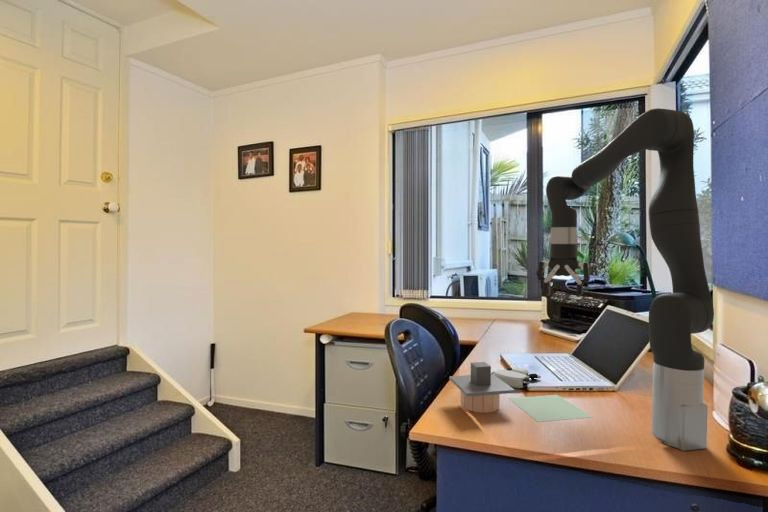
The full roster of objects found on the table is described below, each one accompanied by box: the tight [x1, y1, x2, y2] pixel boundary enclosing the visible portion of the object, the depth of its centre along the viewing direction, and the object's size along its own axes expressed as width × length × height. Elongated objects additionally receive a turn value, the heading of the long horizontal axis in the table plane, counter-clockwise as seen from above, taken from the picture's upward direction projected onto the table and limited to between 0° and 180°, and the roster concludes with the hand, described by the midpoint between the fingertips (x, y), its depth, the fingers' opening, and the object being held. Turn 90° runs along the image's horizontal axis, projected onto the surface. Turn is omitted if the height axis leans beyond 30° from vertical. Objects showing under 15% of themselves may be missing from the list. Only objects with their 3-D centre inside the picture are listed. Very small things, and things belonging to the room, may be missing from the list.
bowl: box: [460, 390, 501, 414], centre depth 110 cm, size 10×10×6 cm
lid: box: [448, 361, 516, 397], centre depth 110 cm, size 13×13×6 cm
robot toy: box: [491, 367, 542, 389], centre depth 128 cm, size 12×4×15 cm
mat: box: [508, 394, 593, 423], centre depth 108 cm, size 15×15×1 cm
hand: (563, 295), depth 124 cm, fingers open, 8 cm apart
